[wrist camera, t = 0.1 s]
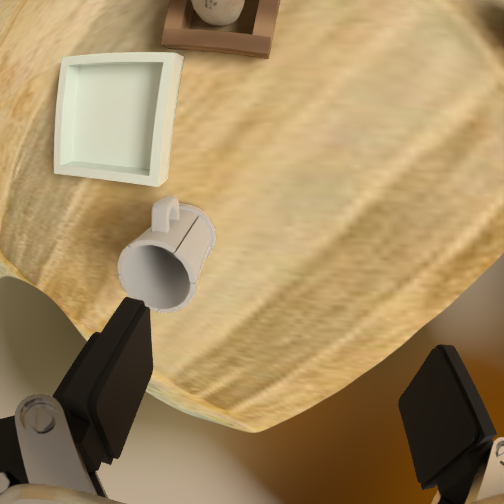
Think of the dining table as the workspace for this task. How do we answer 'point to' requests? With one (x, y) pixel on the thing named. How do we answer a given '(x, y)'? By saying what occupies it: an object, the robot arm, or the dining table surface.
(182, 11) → the pocket frame
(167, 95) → the tray
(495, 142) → the dining table surface
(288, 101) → the dining table surface
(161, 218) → the cup
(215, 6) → the stone
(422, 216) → the dining table surface
